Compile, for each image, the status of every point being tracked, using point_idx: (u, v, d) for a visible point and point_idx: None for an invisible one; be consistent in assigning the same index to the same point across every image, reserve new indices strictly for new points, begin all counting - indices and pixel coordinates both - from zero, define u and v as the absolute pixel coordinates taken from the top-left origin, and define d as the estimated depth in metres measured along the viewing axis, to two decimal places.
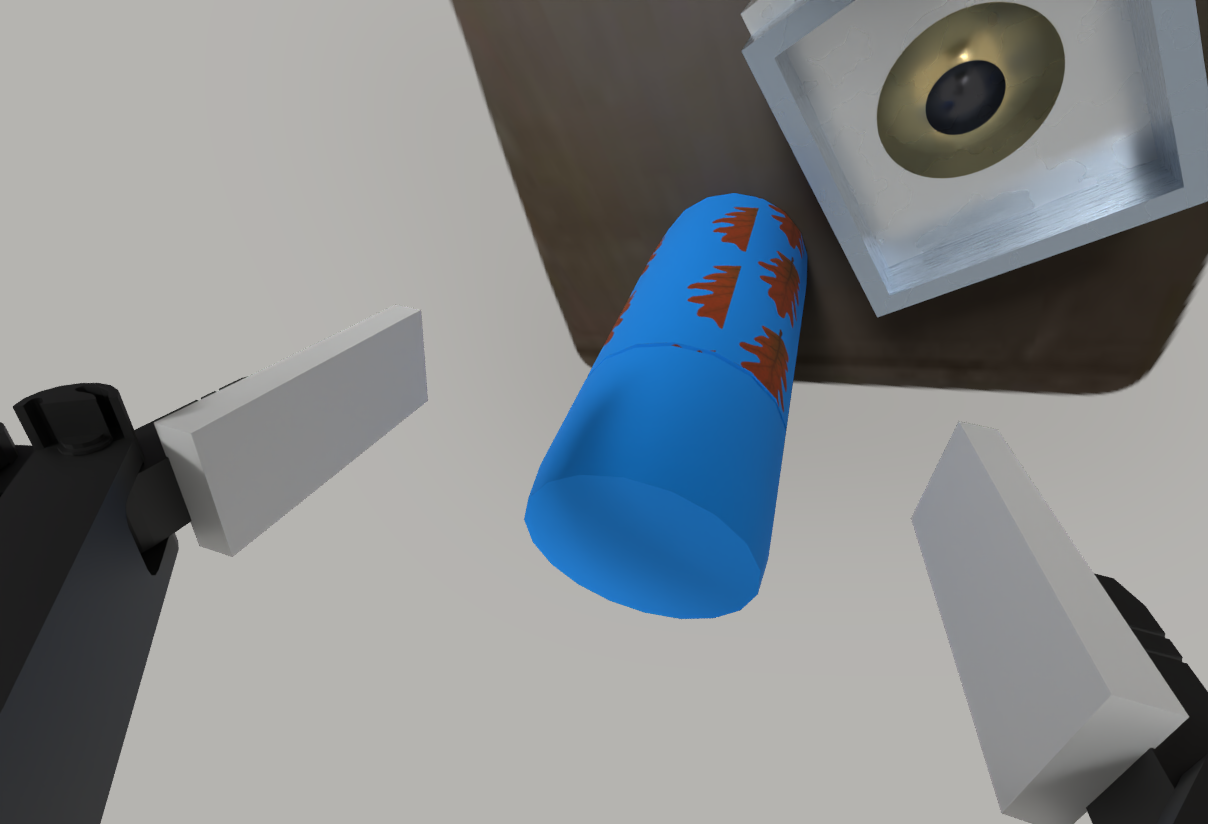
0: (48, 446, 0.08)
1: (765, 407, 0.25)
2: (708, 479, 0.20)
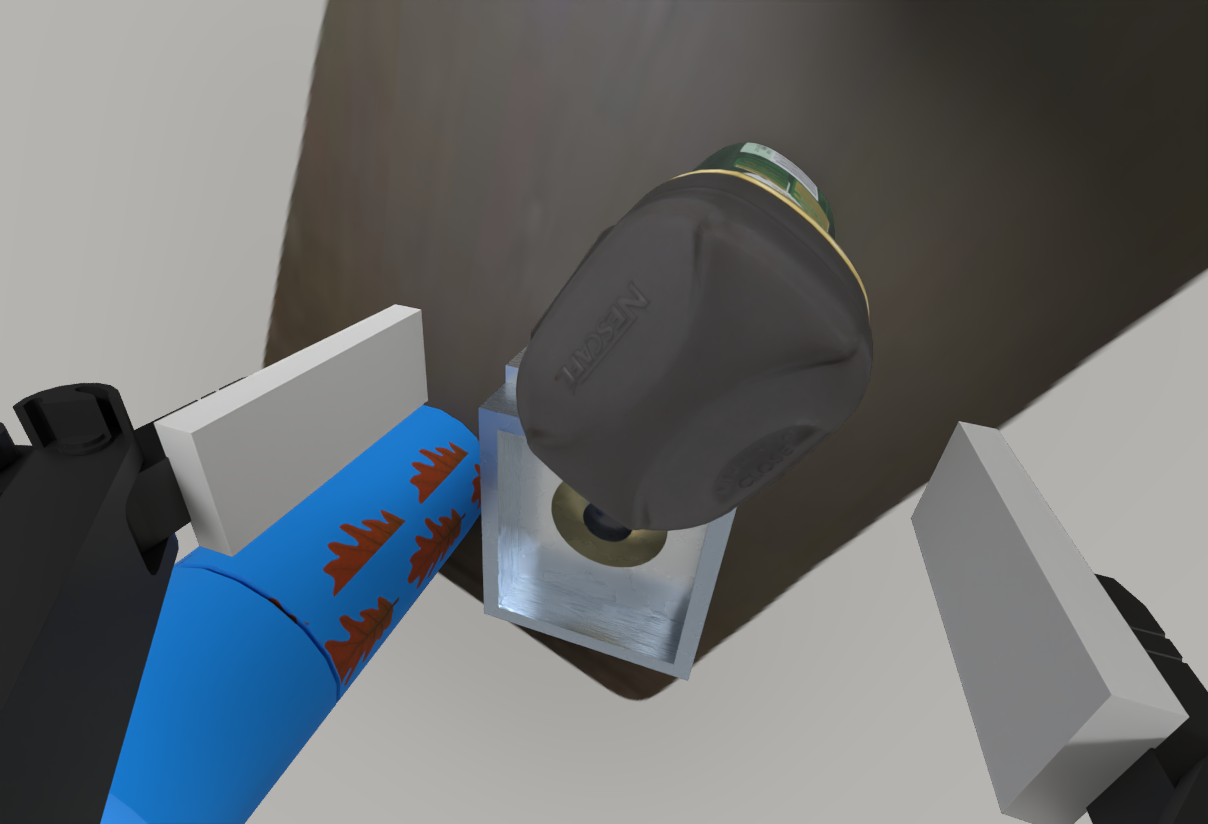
0: (49, 446, 0.08)
1: (320, 693, 0.26)
2: (188, 793, 0.20)
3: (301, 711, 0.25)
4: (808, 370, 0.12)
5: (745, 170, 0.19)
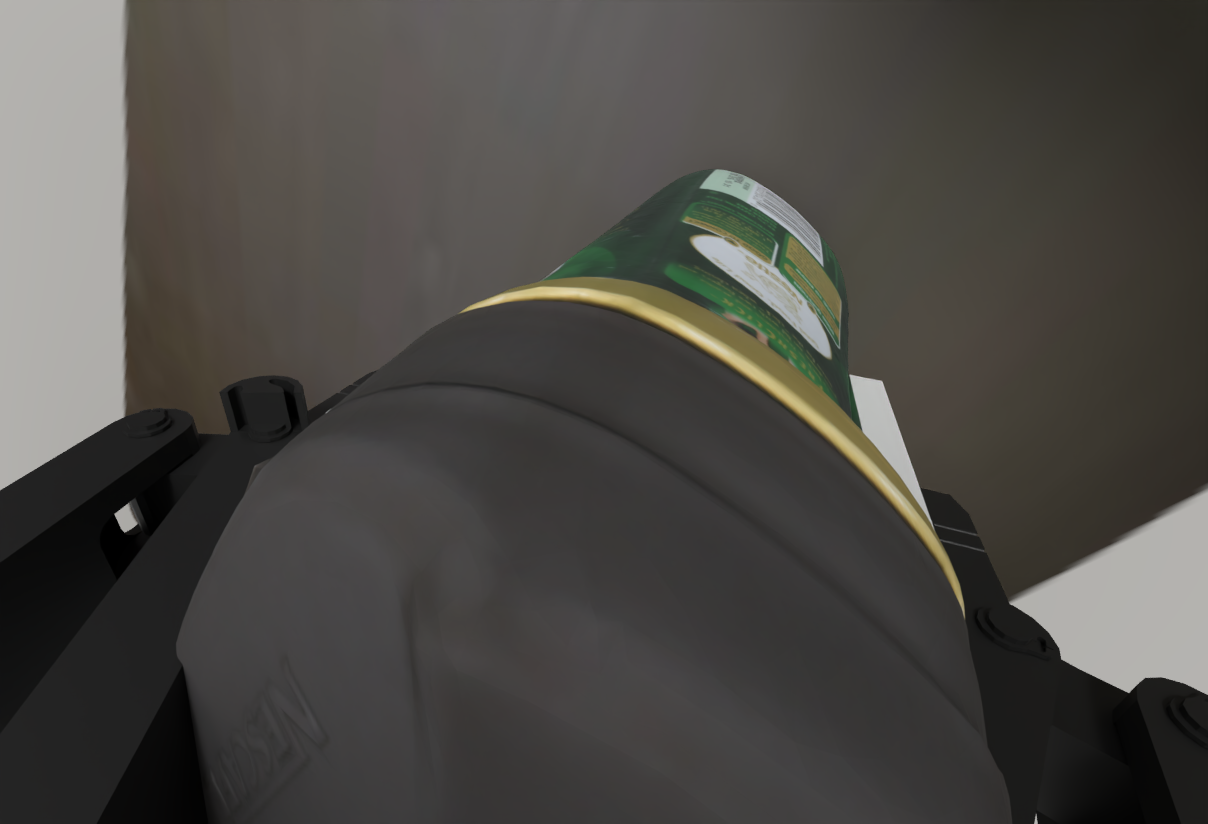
0: (241, 430, 0.09)
1: None
2: None
3: None
4: None
5: (699, 229, 0.11)
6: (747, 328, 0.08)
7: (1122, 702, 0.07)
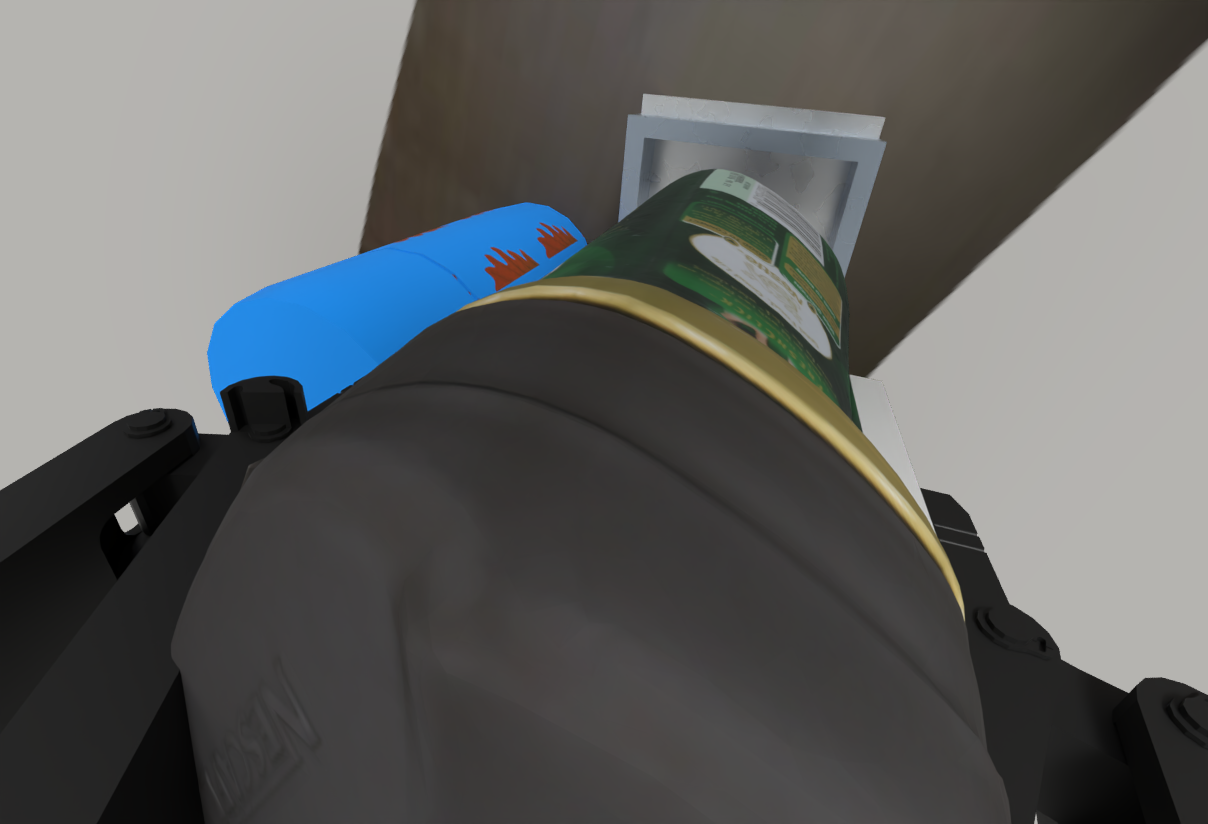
0: (241, 430, 0.09)
1: None
2: None
3: None
4: None
5: (699, 229, 0.11)
6: (746, 328, 0.08)
7: (1122, 702, 0.07)
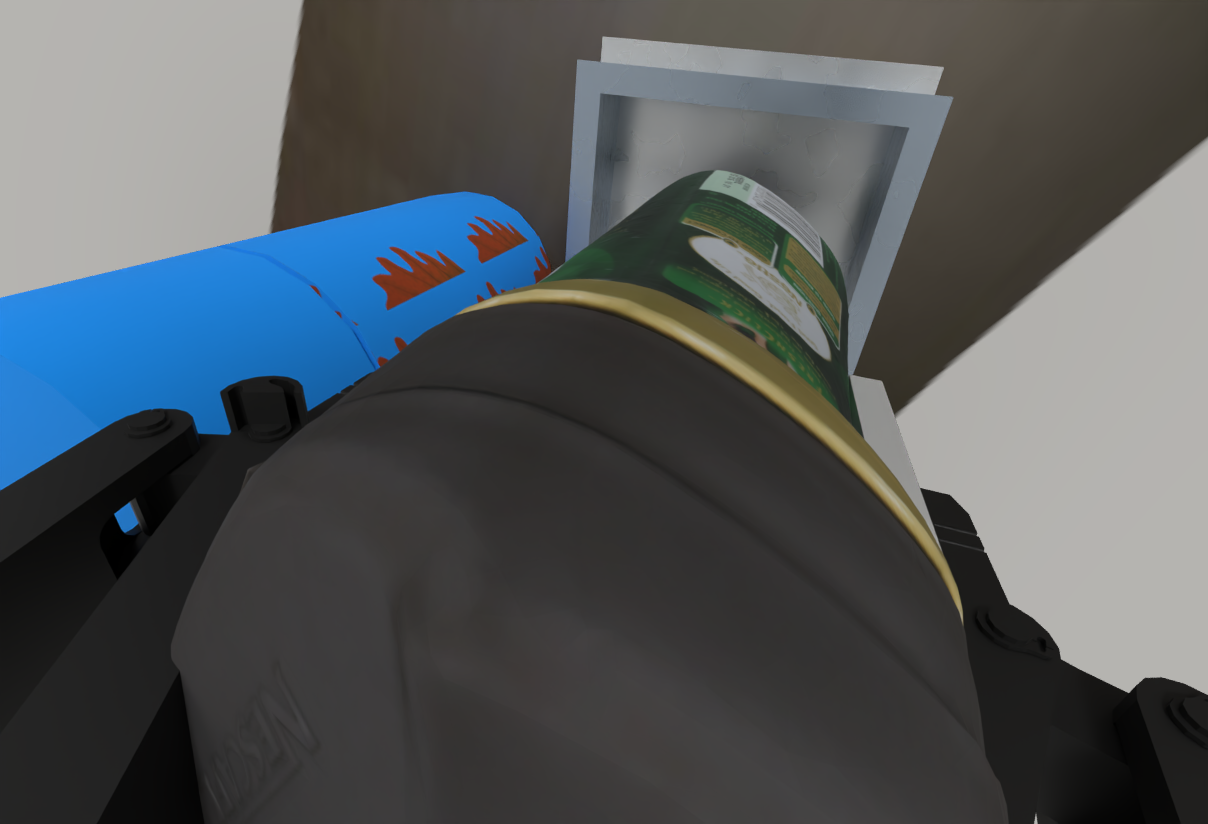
0: (242, 430, 0.09)
1: None
2: None
3: None
4: None
5: (698, 230, 0.11)
6: (745, 330, 0.08)
7: (1122, 702, 0.07)
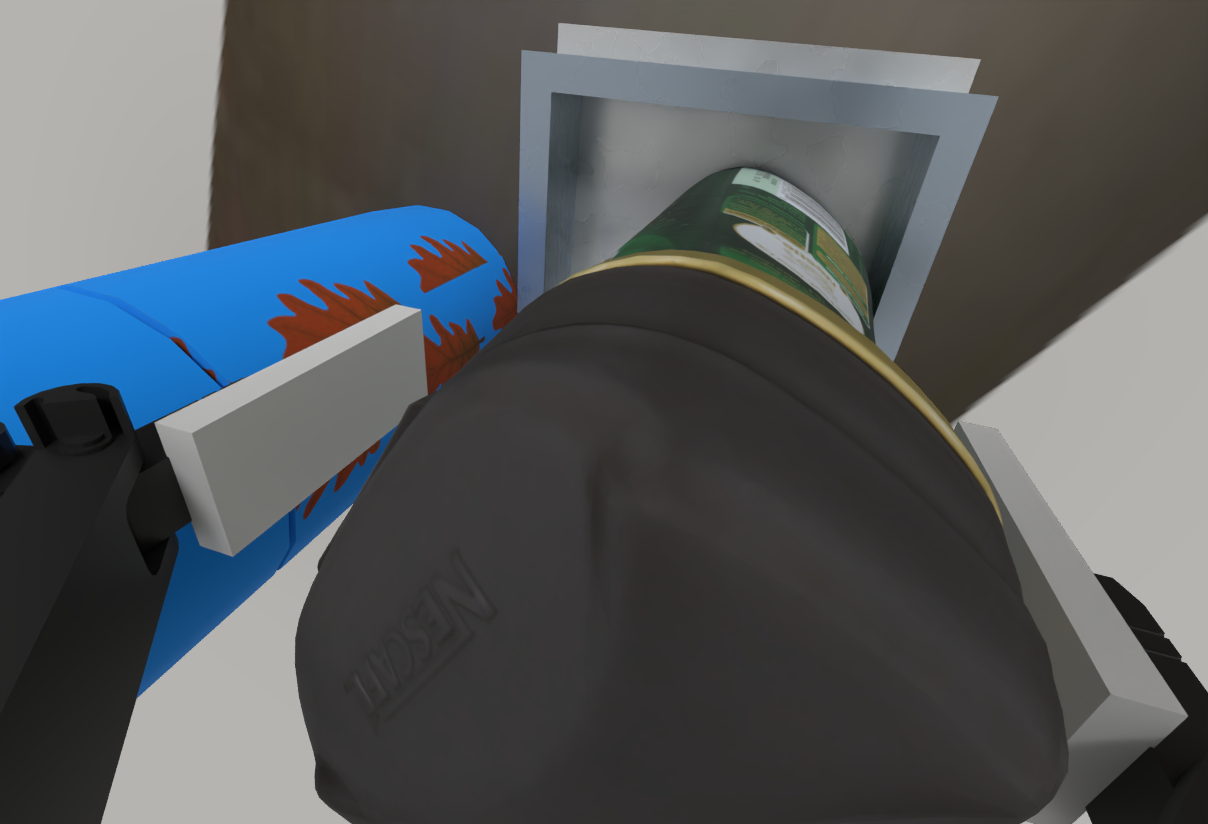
0: (49, 446, 0.08)
1: None
2: None
3: None
4: (909, 816, 0.04)
5: (739, 219, 0.12)
6: None
7: None
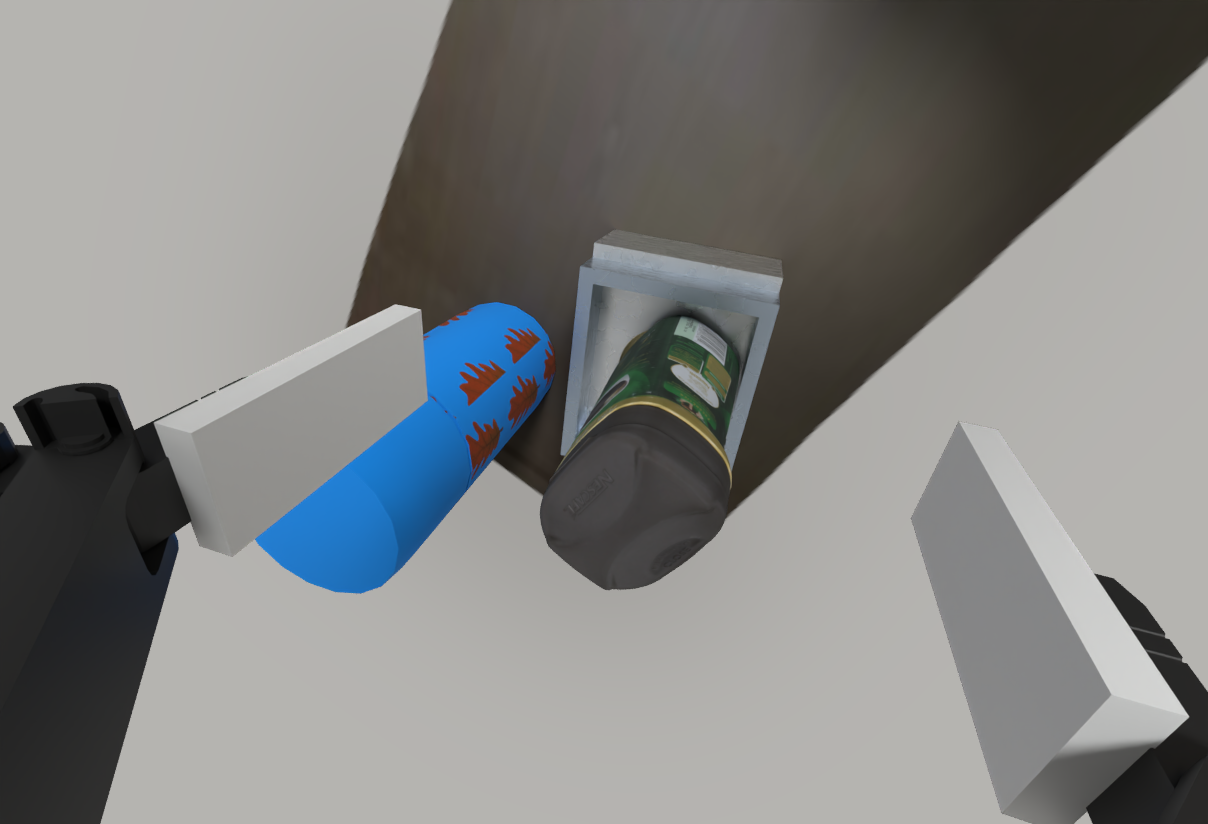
0: (48, 446, 0.08)
1: (462, 471, 0.35)
2: (401, 496, 0.29)
3: (453, 477, 0.34)
4: (692, 515, 0.24)
5: (673, 362, 0.32)
6: (686, 403, 0.29)
7: None
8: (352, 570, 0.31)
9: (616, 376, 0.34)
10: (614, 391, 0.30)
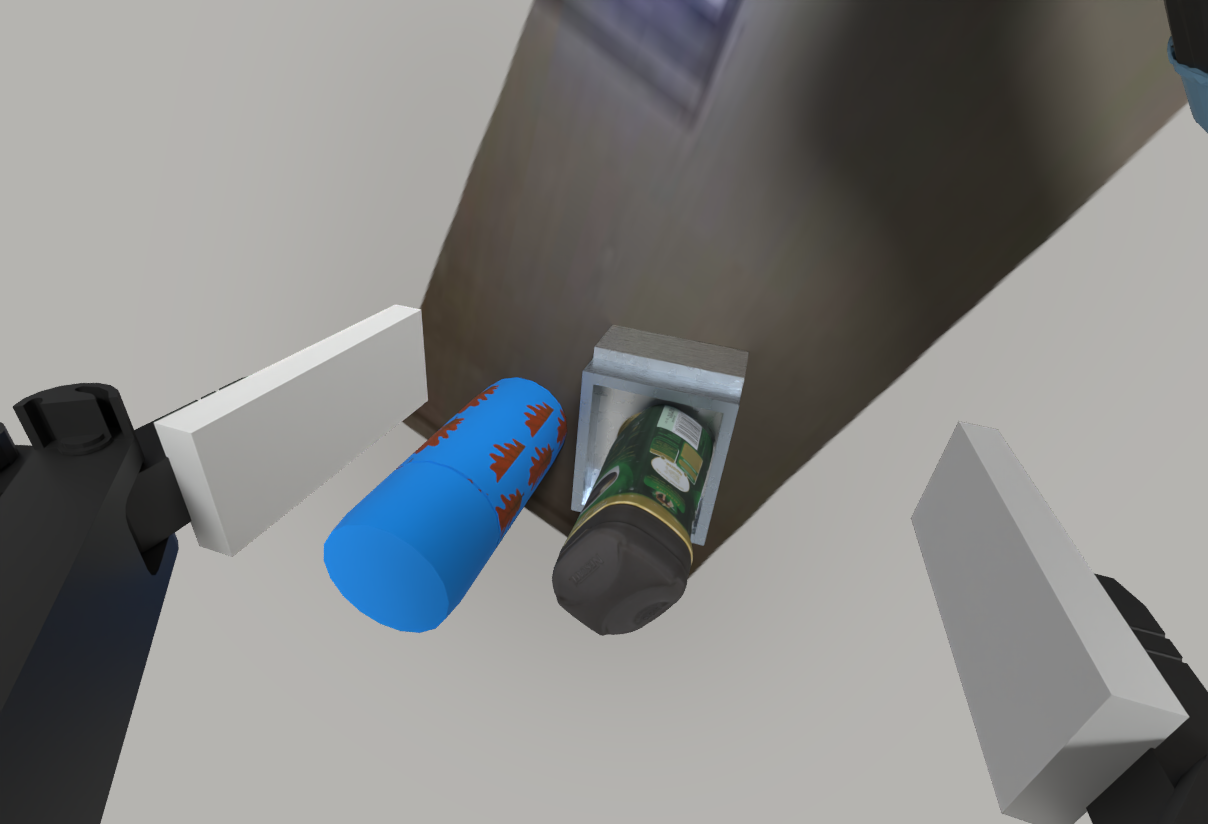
0: (48, 446, 0.08)
1: (493, 535, 0.45)
2: (450, 564, 0.39)
3: (487, 542, 0.44)
4: (659, 588, 0.34)
5: (654, 455, 0.41)
6: (660, 495, 0.38)
7: None
8: (414, 616, 0.41)
9: (611, 461, 0.44)
10: (607, 481, 0.40)
